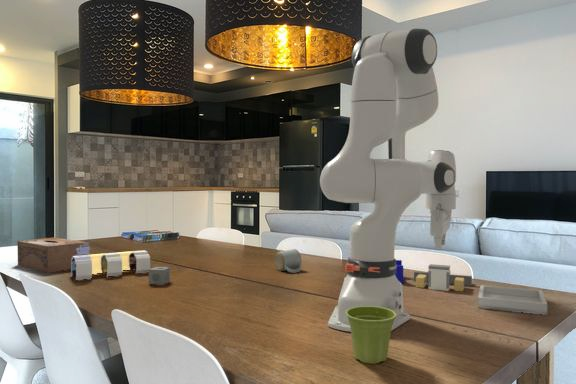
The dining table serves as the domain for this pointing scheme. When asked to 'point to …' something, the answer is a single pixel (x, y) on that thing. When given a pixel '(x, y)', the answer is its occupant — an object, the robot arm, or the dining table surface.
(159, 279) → the dice cube
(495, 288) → the parts tray
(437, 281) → the grey rectangular box
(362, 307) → the plant pot
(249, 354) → the dining table surface
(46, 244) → the tissue box cover
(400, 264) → the cable clip
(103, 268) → the multicoloured piece
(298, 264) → the ceramic mug
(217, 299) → the dining table surface
